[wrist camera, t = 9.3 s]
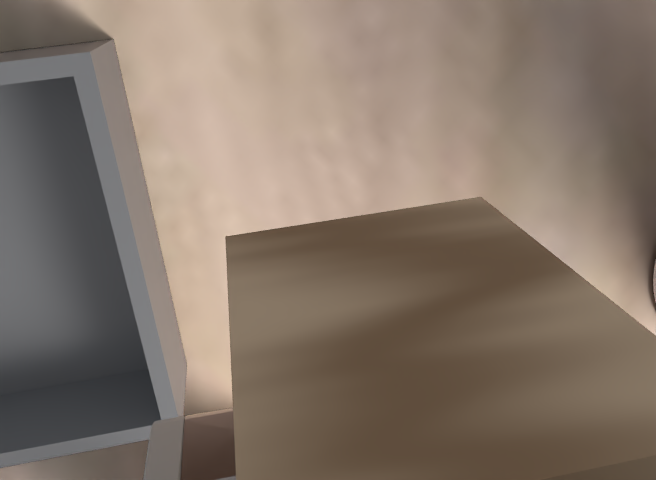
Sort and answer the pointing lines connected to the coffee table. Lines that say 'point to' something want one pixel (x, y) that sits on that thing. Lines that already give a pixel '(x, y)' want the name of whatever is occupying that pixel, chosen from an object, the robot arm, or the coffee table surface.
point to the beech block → (431, 355)
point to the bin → (78, 263)
